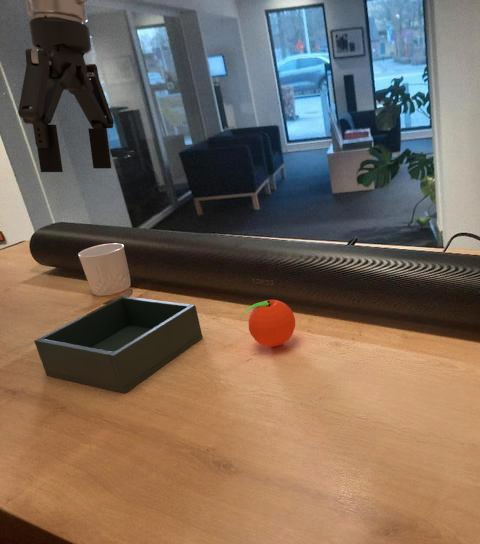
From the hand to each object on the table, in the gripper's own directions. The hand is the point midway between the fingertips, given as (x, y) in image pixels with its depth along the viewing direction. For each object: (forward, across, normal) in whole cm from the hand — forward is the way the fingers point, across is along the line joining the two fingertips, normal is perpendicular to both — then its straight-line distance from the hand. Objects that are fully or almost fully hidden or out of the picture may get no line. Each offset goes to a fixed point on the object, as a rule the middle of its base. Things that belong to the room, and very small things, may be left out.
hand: (79, 170), depth 77 cm
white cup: (+26, +15, +5) cm, 30 cm away
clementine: (+26, -8, -31) cm, 41 cm away
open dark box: (+27, -9, -9) cm, 30 cm away
